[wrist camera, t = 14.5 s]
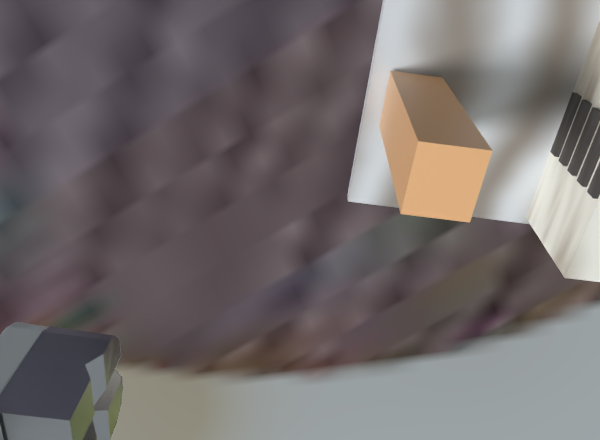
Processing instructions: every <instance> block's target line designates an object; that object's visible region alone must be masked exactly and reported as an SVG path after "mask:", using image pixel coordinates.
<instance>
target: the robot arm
mask: <svg viewBox="0 0 600 440" xmlns="http://www.w3.org/2000/svg"><path fill="white" fill-rule="evenodd" d="M120 357H121V350H120V339H119V338H118V337H116V336H113V335H106V334H100V333H93V332H86V331H79V330H72V329H65V328H58V327H51V326H50V327H46V326H39V325H32V324H26V323H19V322H15V323H13V324H12V325H10V326H8V327H7V328H6V329H5V330H4V331H3V332H2V334H1V335H0V440H110V439H111V436H112V434H113V431H114V428H115V426H116V423H117V419H118V415H119V411H120V407H121V402H122V391H123V384H122V376H121V375H120V374H119V373H118V372H117V370H116V369H115V368H116V366H117V363H118V361H119V359H120Z"/></svg>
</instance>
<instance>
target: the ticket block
mask: <svg viewBox="0 0 600 440" xmlns="http://www.w3.org/2000/svg"><path fill="white" fill-rule="evenodd" d="M390 71H398V72H405V73H413V74H420V75H428V76H436V77H442V78H443V79H444V80H445V82H446V83H447V85H448V86H449V88H450V89H451V91H452V92H453V94H454V95H455V97H456V98H457V99H458V101H459V102H460V104H461V105H462V107H463V108H464V110H465V111H466V113H467V114H468V116H469V117H470V118H471V120H472V121H473V123H474V124H475V126H476V127H477V129H478V130H479V132H480V133H481V135H482V136H483V137H484V139H485V140H486V142H487V143H488V145H489V146H490V148H491V149H492V154H491V157H490V160H489V164H488V167H487V170H486V173H485V176H484V179H483V182H482V186H481V189H480V192H479V195H478V198H477V201H476V205H475V208H474V211H473V214H472V217H478V218H486V219H494V220H502V221H510V222H518V223H526V224H530V225H531V226H532V228H533V229H534V231H535V233H536V234H537V236H538V237H539V239H540V240H541V242H542V243H543V245H544V247H545V248H546V250H547V251H548V253H549V254H550V256H551V257H552V259H553V261H554V262H555V264H556V265H557V267H558V268H559V270H560V271H561V273H562V275H563V276H564V278H571V279H579V280H587V281H595V282H600V0H383V4H382V9H381V14H380V20H379V25H378V31H377V36H376V42H375V47H374V53H373V58H372V64H371V69H370V75H369V80H368V86H367V91H366V97H365V102H364V108H363V113H362V119H361V124H360V129H359V135H358V140H357V146H356V151H355V157H354V162H353V168H352V173H351V179H350V184H349V190H348V195H347V196H348V201H350V202H358V203H366V204H374V205H382V206H390V207H398V208H399V205H398V201H397V197H396V193H395V188H394V184H393V180H392V176H391V172H390V168H389V164H388V160H387V156H386V152H385V148H384V143H383V139H382V135H381V131H380V127H379V125H380V120H381V115H382V110H383V105H384V100H385V95H386V90H387V85H388V80H389V75H390Z"/></svg>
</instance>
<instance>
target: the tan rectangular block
mask: <svg viewBox="0 0 600 440" xmlns="http://www.w3.org/2000/svg"><path fill="white" fill-rule="evenodd" d="M379 127H380V131H381V135H382V139H383V143H384V148H385V152H386V156H387V160H388V164H389V168H390V172H391V176H392V180H393V184H394V188H395V193H396V197H397V201H398V205H399V209H400V213H401V214H406V215H414V216H422V217H430V218H438V219H446V220H454V221H462V222H470V220H471V217H472V214H473V211H474V208H475V205H476V201H477V198H478V195H479V192H480V189H481V186H482V182H483V179H484V176H485V173H486V170H487V167H488V164H489V160H490V157H491V154H492V149H491V148H490V146H489V145H488V143H487V142H486V140H485V139H484V137H483V136H482V135H481V133H480V132H479V130H478V129H477V127H476V126H475V124H474V123H473V121H472V120H471V118H470V117H469V116H468V114H467V113H466V111H465V110H464V108H463V107H462V105H461V104H460V102H459V101H458V99H457V98H456V97H455V95H454V94H453V92H452V91H451V89H450V88H449V86H448V85H447V83H446V82H445V80H444V79H443V78H442V77H436V76H428V75H420V74H413V73H405V72H398V71H390V75H389V80H388V85H387V90H386V95H385V100H384V105H383V110H382V115H381V120H380V125H379Z"/></svg>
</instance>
